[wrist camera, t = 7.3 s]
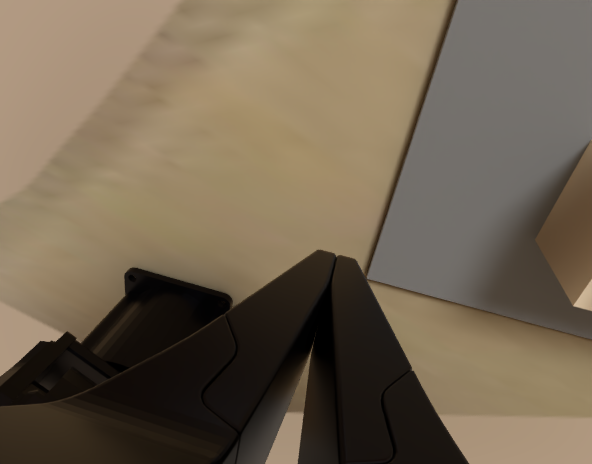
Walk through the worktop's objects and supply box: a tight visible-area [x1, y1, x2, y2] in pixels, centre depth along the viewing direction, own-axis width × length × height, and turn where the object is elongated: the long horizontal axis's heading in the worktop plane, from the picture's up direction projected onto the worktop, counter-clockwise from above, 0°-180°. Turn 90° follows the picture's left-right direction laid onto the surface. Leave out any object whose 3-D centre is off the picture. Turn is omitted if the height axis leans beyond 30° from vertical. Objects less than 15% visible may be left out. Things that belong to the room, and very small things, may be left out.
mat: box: [367, 0, 592, 340], centre depth 16 cm, size 15×13×1 cm
